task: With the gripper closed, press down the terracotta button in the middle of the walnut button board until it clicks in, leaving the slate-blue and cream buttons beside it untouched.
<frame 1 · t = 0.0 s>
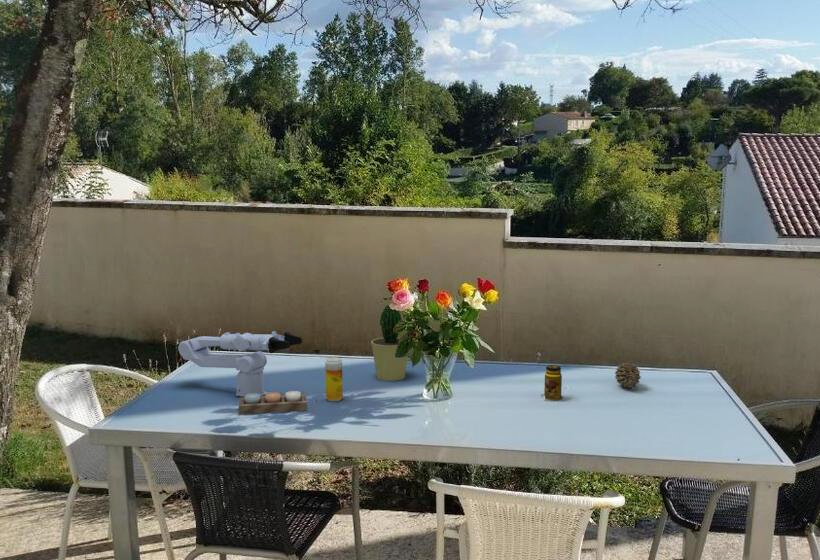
hand: (295, 342, 270), 22 cm above the table, tool horizontal, fingers open, 7 cm apart
pine cone: (625, 385, 293), on the table
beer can: (334, 400, 276), on the table
terracotta button: (272, 398, 265), point 4 cm above the table, slide at 0.0 cm
cream button: (293, 397, 267), point 4 cm above the table, slide at 0.0 cm
condiment: (552, 398, 277), on the table
slate button: (252, 399, 264), point 4 cm above the table, slide at 0.0 cm
button board: (273, 408, 266), on the table
potted cactus: (390, 377, 305), on the table
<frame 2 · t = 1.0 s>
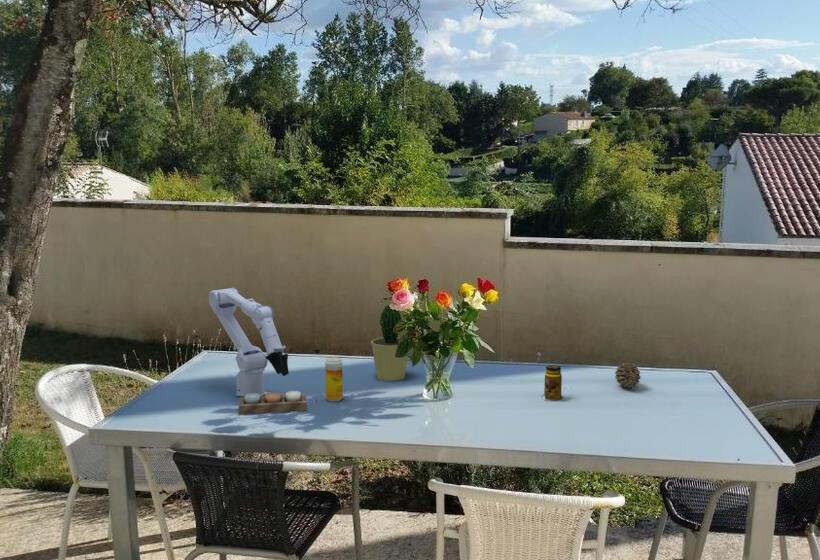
hand: (283, 374, 267), 11 cm above the table, tool tilted 30°, fingers open, 7 cm apart
nothing on the table moved.
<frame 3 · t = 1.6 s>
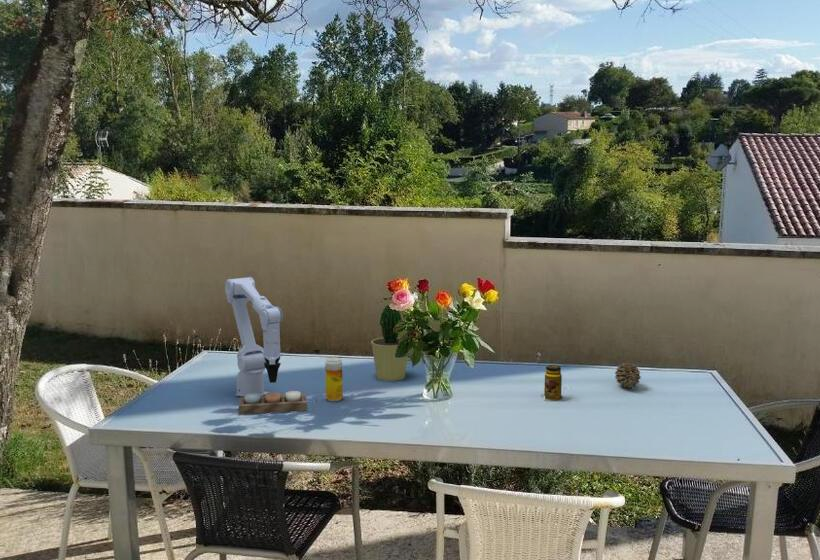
hand: (272, 379, 268), 9 cm above the table, tool pointing down, fingers open, 7 cm apart
nothing on the table moved.
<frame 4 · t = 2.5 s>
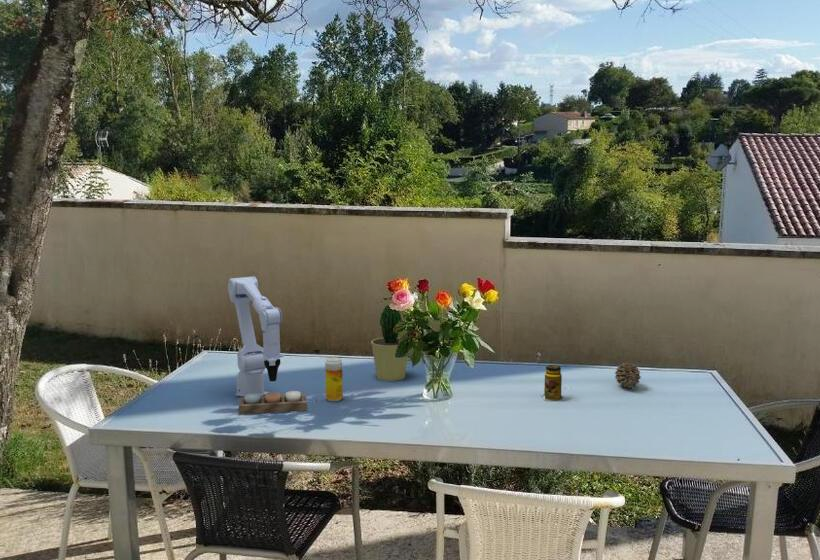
hand: (272, 380, 266), 9 cm above the table, tool pointing down, fingers closed
nothing on the table moved.
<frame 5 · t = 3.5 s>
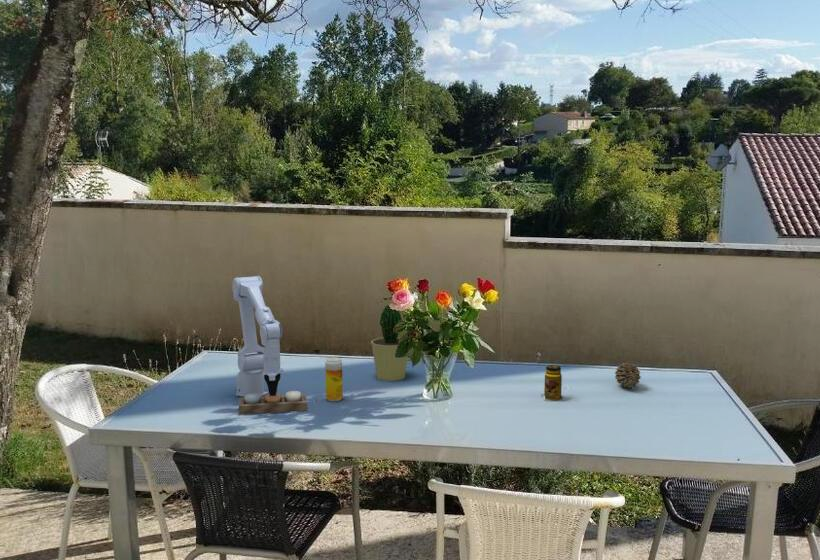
hand: (272, 395, 265), 5 cm above the table, tool pointing down, fingers closed, pressing on terracotta button
terracotta button: (273, 398, 265), point 3 cm above the table, slide at 0.3 cm, touching gripper
everything else where it was.
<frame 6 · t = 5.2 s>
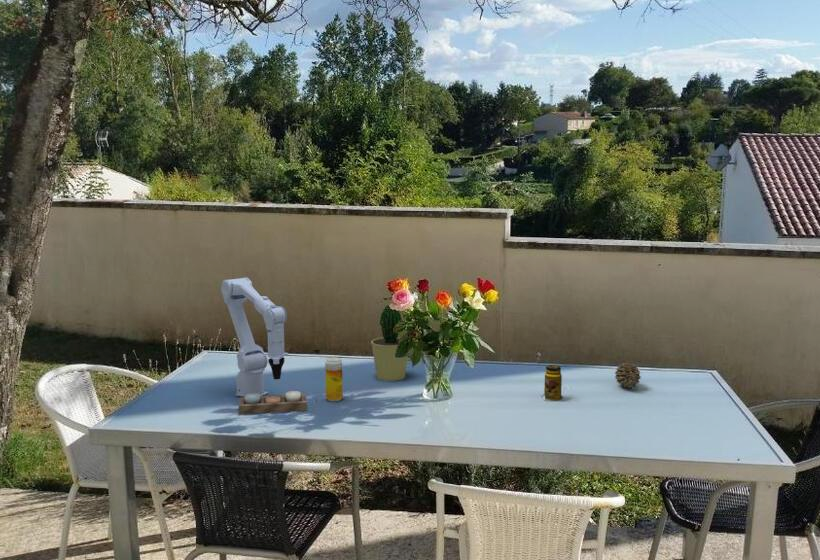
hand: (276, 378, 270), 9 cm above the table, tool pointing down, fingers closed
terracotta button: (273, 402, 266), point 2 cm above the table, slide at 1.5 cm
everything else where it was.
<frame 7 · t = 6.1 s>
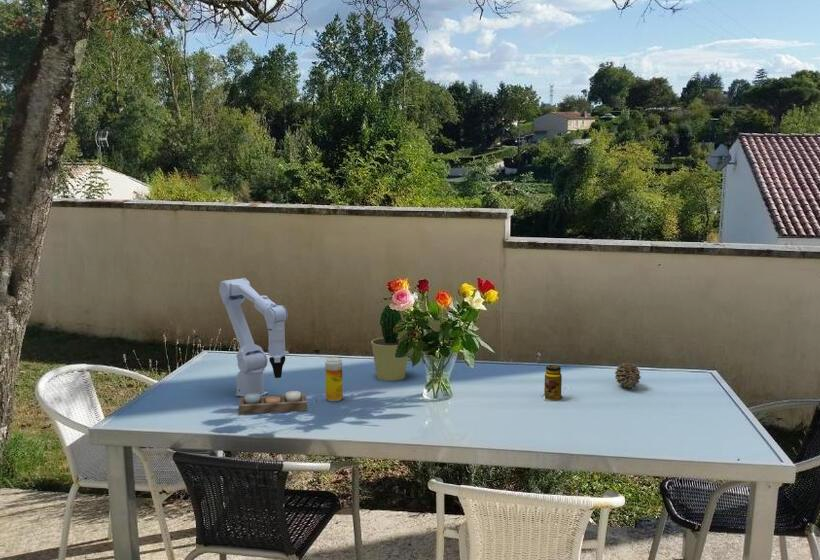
hand: (277, 377, 271), 9 cm above the table, tool pointing down, fingers closed
nothing on the table moved.
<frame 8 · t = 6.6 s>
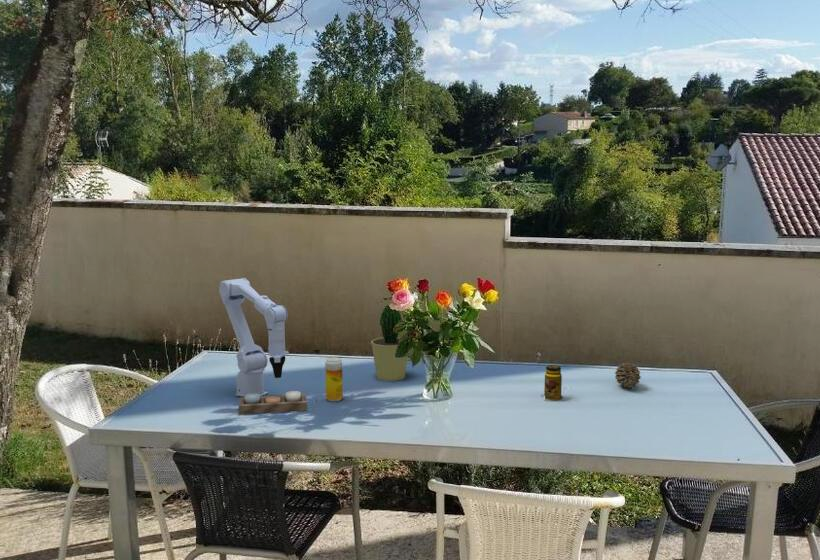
hand: (277, 377, 271), 9 cm above the table, tool pointing down, fingers closed
nothing on the table moved.
at the end: terracotta button slide at 1.5 cm; slate button slide at 0.0 cm; cream button slide at 0.0 cm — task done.
